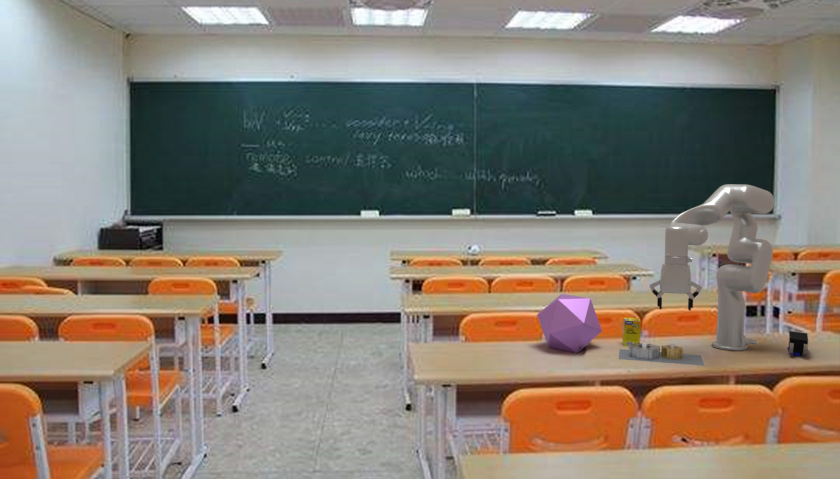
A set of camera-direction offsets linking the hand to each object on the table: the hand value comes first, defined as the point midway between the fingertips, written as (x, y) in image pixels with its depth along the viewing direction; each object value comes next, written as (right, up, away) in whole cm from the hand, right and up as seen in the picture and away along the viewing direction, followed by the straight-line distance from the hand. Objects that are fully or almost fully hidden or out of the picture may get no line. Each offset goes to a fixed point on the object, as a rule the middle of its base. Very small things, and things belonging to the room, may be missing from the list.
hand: (674, 309), depth 255 cm
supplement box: (-10, -17, +20) cm, 28 cm away
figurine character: (+49, -18, +11) cm, 53 cm away
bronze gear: (-1, -17, +1) cm, 17 cm away
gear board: (-5, -18, +1) cm, 19 cm away
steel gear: (-10, -17, +2) cm, 20 cm away
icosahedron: (-34, -17, +18) cm, 42 cm away
